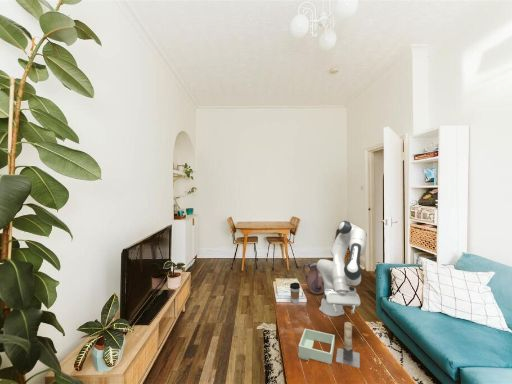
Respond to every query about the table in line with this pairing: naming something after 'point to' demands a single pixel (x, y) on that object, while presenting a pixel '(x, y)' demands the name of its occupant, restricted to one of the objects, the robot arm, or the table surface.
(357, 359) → the stud plate
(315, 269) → the ceramic pitcher
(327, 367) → the table surface
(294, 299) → the coffee cup
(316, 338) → the bin
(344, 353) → the strut
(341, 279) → the robot arm
